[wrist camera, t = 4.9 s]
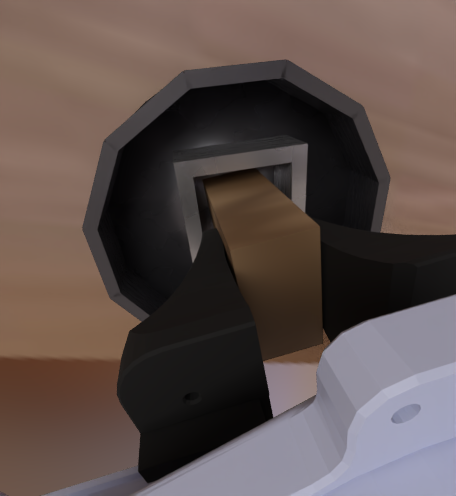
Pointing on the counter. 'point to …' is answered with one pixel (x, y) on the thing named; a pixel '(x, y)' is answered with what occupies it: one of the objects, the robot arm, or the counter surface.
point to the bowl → (224, 169)
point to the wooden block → (270, 258)
